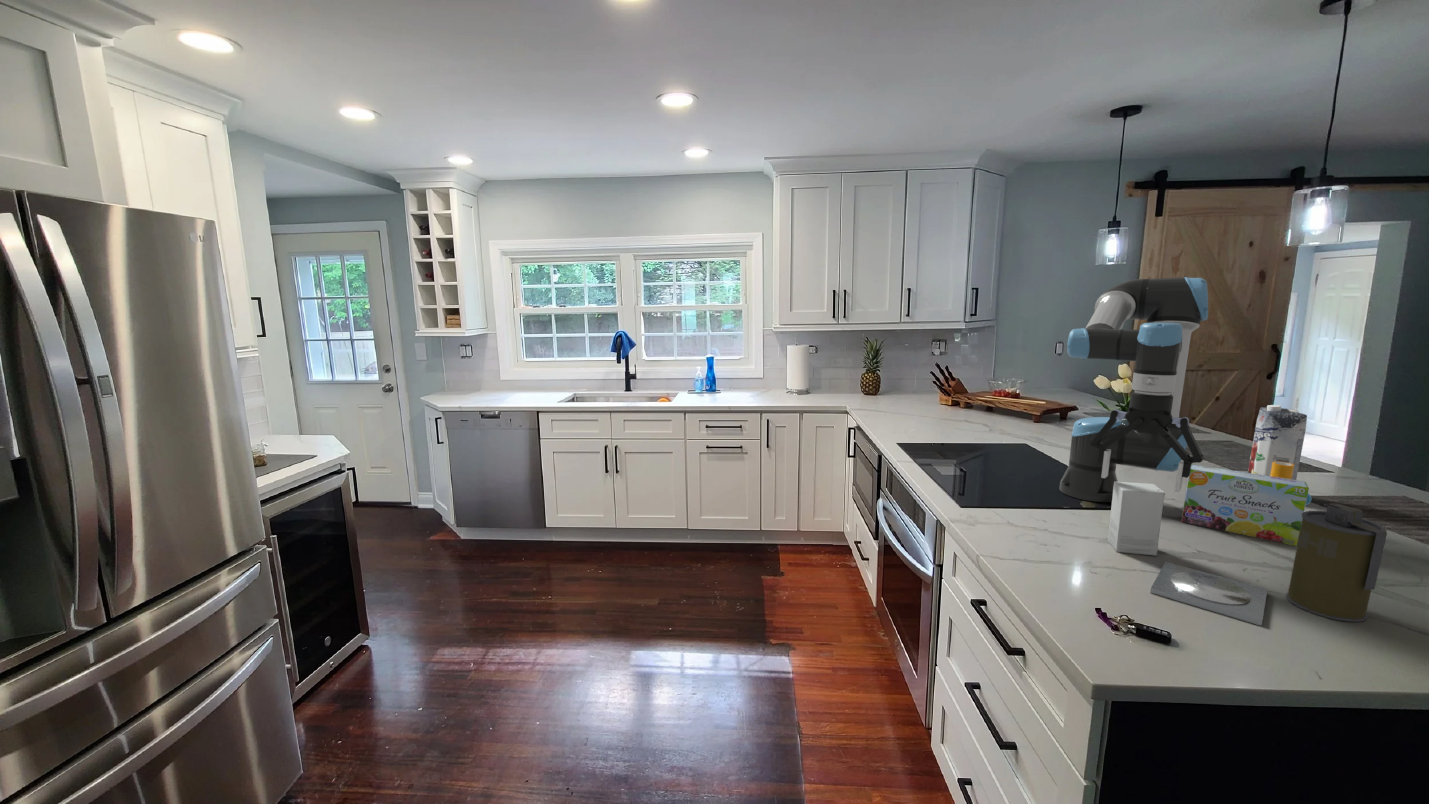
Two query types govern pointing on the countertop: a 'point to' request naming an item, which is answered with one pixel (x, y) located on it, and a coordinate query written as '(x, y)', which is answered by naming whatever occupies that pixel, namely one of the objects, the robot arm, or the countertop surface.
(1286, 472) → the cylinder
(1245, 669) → the countertop surface
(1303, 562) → the canister
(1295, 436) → the juice carton
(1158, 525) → the skincare box
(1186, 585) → the flange plate
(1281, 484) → the snack box
